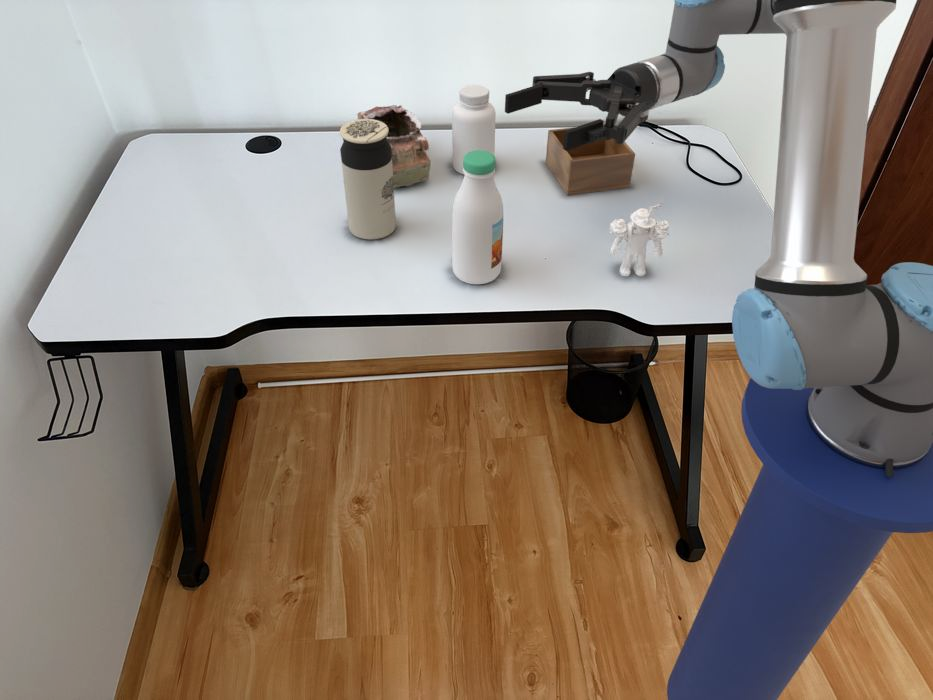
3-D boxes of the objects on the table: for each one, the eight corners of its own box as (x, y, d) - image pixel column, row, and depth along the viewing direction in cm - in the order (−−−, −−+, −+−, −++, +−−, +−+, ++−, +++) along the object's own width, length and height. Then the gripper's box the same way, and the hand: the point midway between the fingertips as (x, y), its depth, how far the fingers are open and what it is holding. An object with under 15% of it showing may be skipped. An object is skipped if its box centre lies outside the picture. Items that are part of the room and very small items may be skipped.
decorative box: (361, 198, 136) (356, 148, 129) (343, 146, 150) (338, 99, 143) (432, 188, 138) (431, 139, 132) (408, 138, 153) (406, 91, 146)
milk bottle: (478, 292, 116) (481, 176, 103) (442, 271, 120) (440, 157, 106) (510, 270, 120) (518, 156, 107) (474, 251, 124) (477, 138, 111)
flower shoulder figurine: (658, 264, 122) (672, 199, 114) (662, 279, 119) (677, 214, 111) (602, 263, 122) (612, 198, 114) (604, 278, 119) (615, 212, 111)
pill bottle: (473, 152, 149) (475, 77, 138) (502, 167, 144) (506, 91, 134) (443, 165, 145) (442, 89, 134) (472, 181, 140) (473, 104, 130)
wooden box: (629, 187, 139) (635, 153, 135) (567, 195, 137) (571, 161, 132) (604, 155, 148) (609, 123, 143) (545, 162, 146) (548, 130, 141)
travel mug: (339, 229, 128) (327, 131, 116) (371, 209, 133) (362, 112, 121) (374, 246, 125) (365, 147, 112) (405, 225, 129) (400, 127, 117)
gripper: (696, 141, 113) (589, 182, 104) (585, 81, 128) (483, 113, 119) (708, 93, 108) (596, 132, 99) (591, 37, 123) (485, 66, 114)
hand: (534, 122), depth 109 cm, fingers open, 13 cm apart
